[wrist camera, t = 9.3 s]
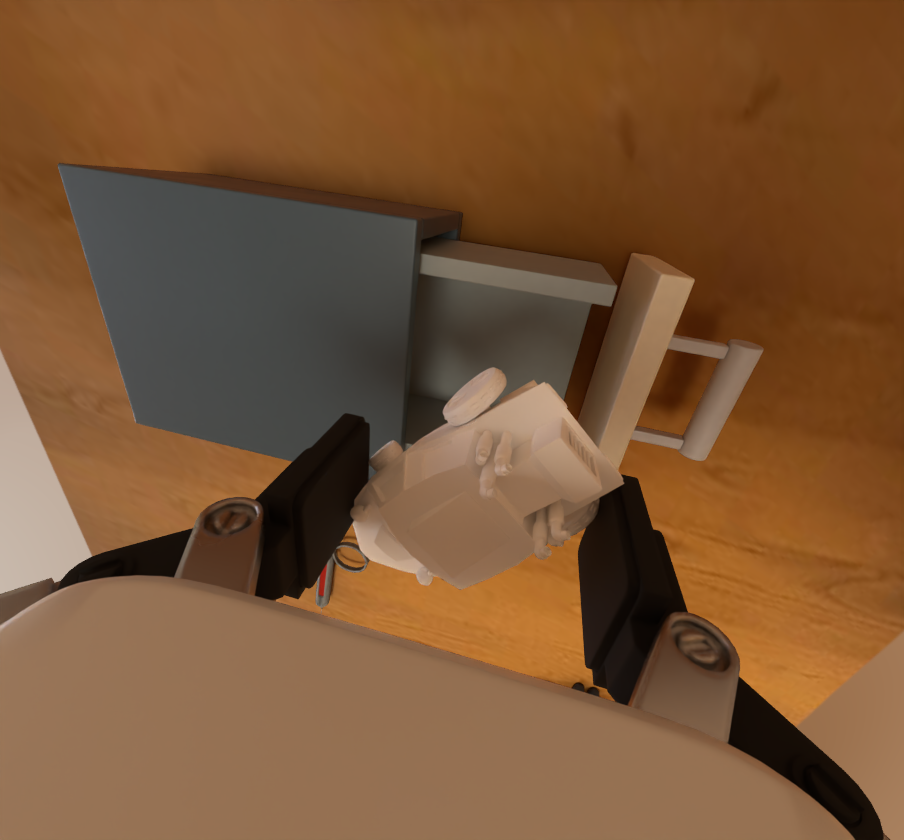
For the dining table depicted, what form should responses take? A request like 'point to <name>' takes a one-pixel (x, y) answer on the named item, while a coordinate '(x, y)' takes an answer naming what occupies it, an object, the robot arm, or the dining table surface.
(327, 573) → the syringe
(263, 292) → the cabinet
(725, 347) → the drawer
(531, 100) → the dining table surface
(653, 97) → the dining table surface
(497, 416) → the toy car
